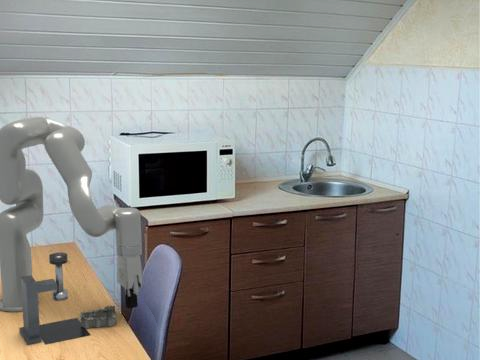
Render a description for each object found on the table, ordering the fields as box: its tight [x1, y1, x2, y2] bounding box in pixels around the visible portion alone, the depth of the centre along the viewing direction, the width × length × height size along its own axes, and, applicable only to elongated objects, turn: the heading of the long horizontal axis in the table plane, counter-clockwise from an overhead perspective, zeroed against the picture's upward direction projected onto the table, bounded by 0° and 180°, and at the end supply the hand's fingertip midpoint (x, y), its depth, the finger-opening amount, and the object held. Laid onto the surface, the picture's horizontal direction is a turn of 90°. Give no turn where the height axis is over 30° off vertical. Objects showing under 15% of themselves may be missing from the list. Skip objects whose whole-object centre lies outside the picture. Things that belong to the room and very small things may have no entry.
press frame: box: [18, 274, 91, 346], centre depth 195 cm, size 14×18×17 cm
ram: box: [48, 252, 69, 302], centre depth 194 cm, size 5×5×13 cm
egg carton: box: [79, 305, 117, 329], centre depth 202 cm, size 11×8×4 cm
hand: (131, 306), depth 207 cm, fingers closed
